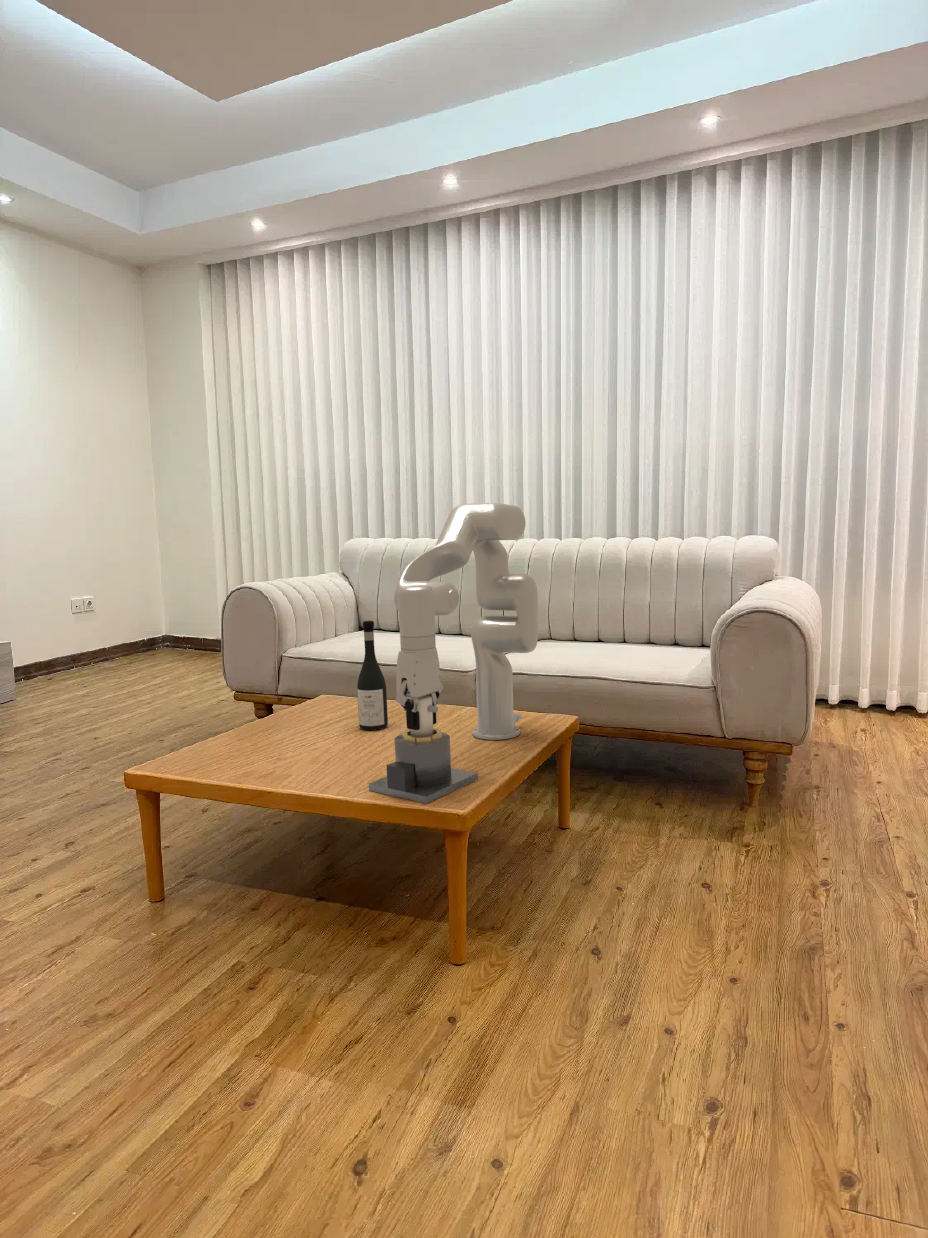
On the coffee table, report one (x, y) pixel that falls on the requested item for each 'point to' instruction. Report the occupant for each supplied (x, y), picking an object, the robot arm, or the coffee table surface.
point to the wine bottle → (371, 687)
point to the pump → (424, 717)
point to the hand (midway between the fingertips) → (421, 725)
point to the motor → (422, 769)
